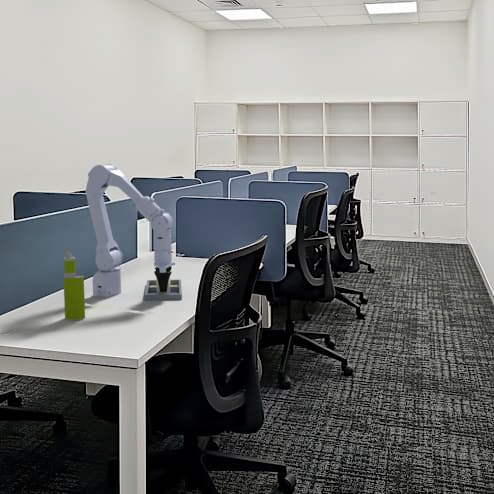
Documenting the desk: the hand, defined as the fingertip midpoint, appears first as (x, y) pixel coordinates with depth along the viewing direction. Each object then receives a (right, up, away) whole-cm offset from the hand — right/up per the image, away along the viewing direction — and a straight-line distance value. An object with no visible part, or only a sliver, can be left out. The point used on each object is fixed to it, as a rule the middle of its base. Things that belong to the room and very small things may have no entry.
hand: (163, 289), depth 228 cm
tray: (-1, -2, +6) cm, 6 cm away
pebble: (0, -2, 0) cm, 2 cm away
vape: (-23, -7, -26) cm, 35 cm away
